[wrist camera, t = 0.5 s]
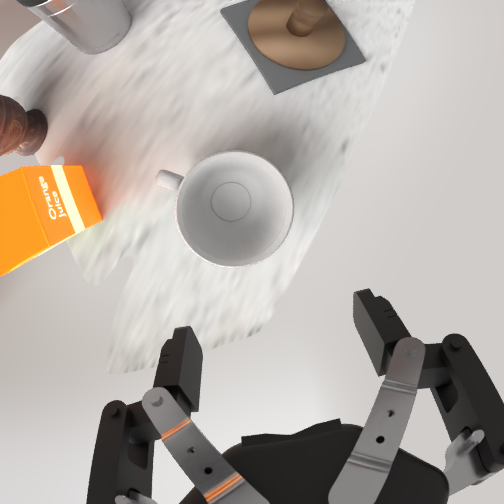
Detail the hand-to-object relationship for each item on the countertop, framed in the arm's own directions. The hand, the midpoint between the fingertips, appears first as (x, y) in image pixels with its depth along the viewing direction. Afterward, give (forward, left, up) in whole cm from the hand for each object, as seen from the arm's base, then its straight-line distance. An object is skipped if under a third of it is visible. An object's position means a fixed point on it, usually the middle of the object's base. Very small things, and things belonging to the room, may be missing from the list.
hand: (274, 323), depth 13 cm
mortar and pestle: (-31, -21, -26) cm, 46 cm away
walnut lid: (-21, +21, -25) cm, 39 cm away
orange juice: (-15, -19, -26) cm, 36 cm away
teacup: (-4, 0, -26) cm, 27 cm away
